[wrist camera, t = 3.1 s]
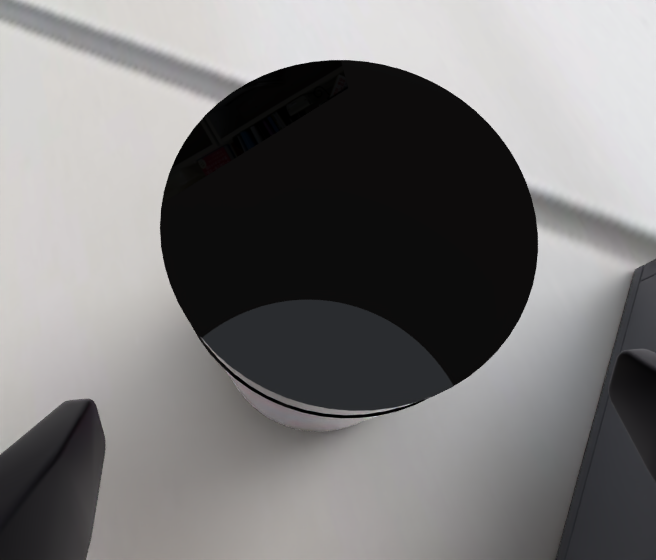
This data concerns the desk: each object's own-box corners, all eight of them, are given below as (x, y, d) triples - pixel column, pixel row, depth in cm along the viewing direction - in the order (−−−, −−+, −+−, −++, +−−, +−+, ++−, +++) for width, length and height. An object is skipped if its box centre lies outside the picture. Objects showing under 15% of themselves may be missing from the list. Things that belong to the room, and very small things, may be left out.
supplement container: (214, 259, 20) (148, 70, 10) (391, 239, 21) (491, 48, 11) (231, 448, 18) (170, 443, 8) (426, 418, 19) (584, 382, 9)
